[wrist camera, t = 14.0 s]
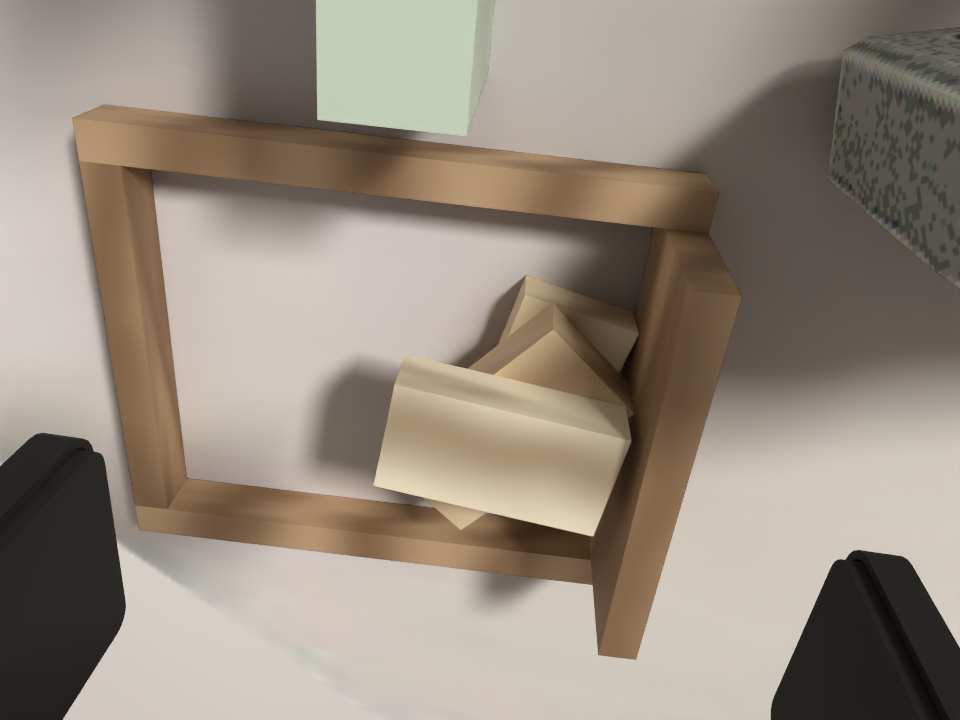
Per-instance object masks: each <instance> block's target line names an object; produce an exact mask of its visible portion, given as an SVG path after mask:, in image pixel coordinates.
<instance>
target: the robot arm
mask: <svg viewBox="0 0 960 720" xmlns="http://www.w3.org/2000/svg"><path fill="white" fill-rule="evenodd" d="M125 604H126V603H125V595H124V588H123V582H122V575H121V568H120V562H119V555H118V548H117V541H116V535H115V528H114V521H113V514H112V508H111V501H110V494H109V487H108V481H107V474H106V467H105V462H104V458H103V456H102V455H101V454H100V453H98V452H94V451H93V448H92V445H91V444H90V442H89V441H88V440H85V439H81V438H74V437H67V436H60V435H54V434H47V433H40V434H36V435H34V436H33V437H31V438H30V439H29V440H28V441H27V442H26V443H25V444H24V445H22V446H21V447H20V448H19V449H18V450H17V451H16V452H15V453H14V454H13V455H12V456H11V457H10V458H9V459H8V460H7V461H5V462H4V463H3V464H2V465H1V466H0V720H63V718H64V716H65V715H66V713H67V712H68V710H69V708H70V707H71V705H72V704H73V702H74V700H75V699H76V698H77V696H78V694H79V693H80V691H81V690H82V688H83V687H84V685H85V683H86V682H87V680H88V679H89V677H90V675H91V674H92V672H93V671H94V669H95V668H96V666H97V665H98V663H99V661H100V660H101V658H102V657H103V655H104V653H105V652H106V650H107V649H108V647H109V646H110V644H111V643H112V641H113V639H114V638H115V636H116V635H117V633H118V631H119V629H120V627H121V625H122V622H123V619H124V615H125V608H126V605H125ZM771 720H960V648H959V646H958V644H957V642H956V641H955V639H954V637H953V635H952V634H951V632H950V630H949V629H948V627H947V625H946V623H945V622H944V620H943V618H942V616H941V615H940V613H939V611H938V609H937V608H936V606H935V604H934V602H933V601H932V599H931V597H930V596H929V594H928V592H927V590H926V589H925V587H924V585H923V583H922V582H921V580H920V578H919V576H918V575H917V573H916V571H915V569H914V568H913V566H912V565H911V563H910V562H909V561H908V560H907V559H906V558H904V557H902V556H896V555H889V554H882V553H875V552H868V551H861V550H856V551H853V552H851V553H850V554H849V555H848V557H847V559H846V560H842V559H840V560H837V561H835V562H834V563H833V565H832V567H831V569H830V571H829V573H828V576H827V578H826V580H825V582H824V585H823V587H822V589H821V591H820V594H819V596H818V598H817V601H816V603H815V605H814V607H813V610H812V612H811V614H810V616H809V619H808V621H807V623H806V626H805V628H804V630H803V632H802V635H801V637H800V639H799V641H798V644H797V646H796V648H795V651H794V653H793V655H792V657H791V660H790V662H789V664H788V666H787V669H786V671H785V673H784V675H783V678H782V680H781V682H780V685H779V687H778V689H777V691H776V694H775V696H774V699H773V702H772V707H771Z"/></svg>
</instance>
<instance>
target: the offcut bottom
mask: <svg viewBox="0 0 960 720" xmlns="http://www.w3.org/2000/svg"><path fill="white" fill-rule="evenodd" d="M552 303H553V304H554V305H555V306H556V307H557V308H558V309H559V310H560V311H561V312H562V313H563V314H564V315H565V316H566V317H567V318H568V320H569V321H570V322H571V323H572V324H573V325H574V326H575V327H576V328H577V329H578V330H579V331H580V332H581V333H582V334H583V335H584V336H585V338H586V339H587V340H588V341H589V342H590V343H591V344H592V345H593V346H594V347H595V348H596V349H597V350H598V351H599V352H600V353H601V355H602V356H603V357H604V358H605V359H606V360H607V361H608V362H609V363H610V364H611V365H612V366H613V367H614V368H615V369H616V370H617V372H618V373H619V372H620V370H621V368H622V366H623V364H624V362H625V360H626V358H627V356H628V354H629V352H630V350H631V348H632V347H633V345H634V343H635V341H636V339H637V337H638V335H639V331H638V327H637V323H636V319H635V315H634V312H631V311H629V310H626V309H623V308H620V307H617V306H614V305H611V304H608V303H605V302H602V301H600V300H597V299H594V298H591V297H588V296H585V295H582V294H579V293H576V292H573V291H571V290H568V289H565V288H562V287H559V286H556V285H553V284H550V283H547V282H545V281H542V280H539V279H536V278H533V277H530V276H527V275H526V276H525V279H524V281H523V283H522V286H521V288H520V291H519V293H518V296H517V298H516V301H515V303H514V306H513V308H512V311H511V313H510V316H509V318H508V320H507V323H506V325H505V328H504V330H503V333H502V335H501V338H500V340H499V343H498V345H499V344H500V343H501V342H503V341H504V340H505V339H506V338H508V337H509V336H510V335H512V334H513V333H514V332H515V331H517V330H518V329H519V328H521V327H522V326H523V325H525V324H526V323H527V322H528V321H530V320H531V319H532V318H534V317H535V316H536V315H537V314H539V313H540V312H541V311H543V310H544V309H545V308H546V307H548V306H549V305H550V304H552Z"/></svg>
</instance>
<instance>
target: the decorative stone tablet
mask: <svg viewBox="0 0 960 720" xmlns="http://www.w3.org/2000/svg"><path fill="white" fill-rule="evenodd" d="M828 180H829V181H831V182H832V183H833V184H834V185H835V186H836V187H838V188H839V189H840V190H841V191H842V192H843V193H844V194H846V195H847V196H848V197H849V198H850V199H851V200H853V201H854V202H855V203H856V204H857V205H858V206H860V207H861V208H862V209H863V210H864V211H865V212H866V213H868V214H869V215H870V216H871V217H872V218H873V219H875V220H876V221H877V222H878V223H879V224H880V225H882V226H883V227H884V228H885V229H886V230H887V231H889V232H890V233H891V234H892V235H893V236H894V237H895V238H897V239H898V240H899V241H900V242H901V243H902V244H904V245H905V246H906V247H907V248H908V249H909V250H911V251H912V252H913V253H914V254H915V255H916V256H917V257H919V258H920V259H921V260H922V261H923V262H924V263H926V264H927V265H928V266H929V267H930V268H931V269H933V270H934V271H935V272H937V273H938V274H940V275H941V276H942V277H944V278H945V279H947V280H948V281H950V282H951V283H953V284H954V285H955V286H957V287H958V288H960V27H958V28H948V29H938V30H928V31H919V32H909V33H899V34H890V35H880V36H870V37H866V38H864V39H863V40H861V41H859V42H858V43H856V44H854V45H853V46H851V47H849V48H848V49H846V50H844V51H843V55H842V64H841V72H840V80H839V88H838V96H837V105H836V113H835V121H834V129H833V138H832V146H831V154H830V162H829V171H828Z"/></svg>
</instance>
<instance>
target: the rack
mask: <svg viewBox="0 0 960 720" xmlns="http://www.w3.org/2000/svg"><path fill="white" fill-rule="evenodd" d="M72 121H73V127H74V133H75V139H76V145H77V152H78V158H79V164H80V170H81V176H82V182H83V188H84V195H85V201H86V207H87V213H88V219H89V225H90V232H91V238H92V244H93V250H94V256H95V262H96V268H97V275H98V281H99V287H100V293H101V299H102V305H103V312H104V318H105V324H106V330H107V336H108V342H109V348H110V355H111V361H112V367H113V373H114V379H115V385H116V392H117V398H118V404H119V410H120V416H121V422H122V428H123V435H124V441H125V447H126V453H127V459H128V465H129V472H130V478H131V484H132V490H133V496H134V502H135V509H136V515H137V521H138V527H139V530H143V531H151V532H159V533H168V534H176V535H184V536H192V537H201V538H209V539H217V540H226V541H234V542H242V543H250V544H259V545H267V546H275V547H284V548H292V549H300V550H308V551H317V552H325V553H333V554H342V555H350V556H358V557H366V558H375V559H383V560H391V561H400V562H408V563H416V564H424V565H433V566H441V567H449V568H458V569H466V570H474V571H482V572H491V573H499V574H507V575H516V576H524V577H532V578H540V579H549V580H557V581H565V582H574V583H582V584H590V585H593V594H594V607H595V619H596V632H597V645H598V655H602V656H610V657H618V658H626V659H635V660H636V658H637V655H638V651H639V648H640V644H641V641H642V637H643V634H644V631H645V627H646V624H647V620H648V617H649V613H650V610H651V607H652V603H653V600H654V596H655V593H656V590H657V586H658V583H659V579H660V576H661V572H662V569H663V566H664V562H665V559H666V555H667V552H668V548H669V545H670V542H671V538H672V535H673V531H674V528H675V525H676V521H677V518H678V514H679V511H680V507H681V504H682V501H683V497H684V494H685V490H686V487H687V483H688V480H689V477H690V473H691V470H692V466H693V463H694V460H695V456H696V453H697V449H698V446H699V442H700V439H701V436H702V432H703V429H704V425H705V422H706V418H707V415H708V412H709V408H710V405H711V401H712V398H713V395H714V391H715V388H716V384H717V381H718V377H719V374H720V371H721V367H722V364H723V360H724V357H725V353H726V350H727V347H728V343H729V340H730V336H731V333H732V330H733V326H734V323H735V319H736V316H737V312H738V309H739V306H740V302H741V299H742V295H741V293H740V291H739V289H738V287H737V286H736V284H735V282H734V280H733V278H732V276H731V274H730V273H729V271H728V269H727V267H726V265H725V263H724V261H723V260H722V258H721V256H720V254H719V252H718V250H717V248H716V247H715V245H714V243H713V241H712V239H711V237H710V235H709V230H710V226H711V222H712V218H713V214H714V211H715V207H716V203H717V199H718V195H719V191H718V190H717V188H716V187H715V185H714V184H713V182H712V181H711V179H710V178H709V176H708V175H707V174H704V173H695V172H686V171H677V170H669V169H660V168H651V167H643V166H634V165H625V164H616V163H608V162H599V161H590V160H582V159H573V158H564V157H555V156H547V155H538V154H529V153H521V152H512V151H503V150H494V149H486V148H477V147H468V146H460V145H451V144H442V143H433V142H425V141H416V140H407V139H398V138H390V137H381V136H372V135H364V134H355V133H346V132H337V131H329V130H320V129H311V128H303V127H294V126H285V125H276V124H268V123H259V122H250V121H242V120H233V119H224V118H215V117H207V116H198V115H189V114H180V113H172V112H163V111H154V110H146V109H137V108H128V107H119V106H111V105H102V106H100V107H97V108H95V109H92V110H90V111H88V112H85V113H83V114H81V115H78V116H76V117H73V118H72ZM151 169H153V170H162V171H170V172H179V173H188V174H196V175H205V176H214V177H222V178H231V179H240V180H248V181H257V182H266V183H274V184H283V185H292V186H300V187H309V188H317V189H326V190H335V191H343V192H352V193H361V194H369V195H378V196H387V197H395V198H404V199H413V200H421V201H430V202H439V203H447V204H456V205H465V206H473V207H482V208H491V209H499V210H508V211H517V212H525V213H534V214H543V215H551V216H560V217H569V218H577V219H586V220H594V221H603V222H612V223H620V224H629V225H638V226H646V227H654V228H653V233H652V237H651V242H650V246H649V251H648V255H647V260H646V265H645V269H644V274H643V278H642V283H641V287H640V292H639V297H638V301H637V306H636V310H635V319H636V323H637V327H638V331H639V335H638V337H637V339H636V341H635V343H634V345H633V347H632V348H631V350H630V352H629V354H628V356H627V358H626V360H625V362H624V365H623V370H622V374H621V376H622V377H623V378H624V379H625V380H626V381H627V382H628V383H629V389H630V394H631V399H632V405H633V410H634V415H632V416H631V417H629V418H628V423H629V429H630V435H631V440H632V441H631V444H630V446H629V449H628V451H627V454H626V456H625V459H624V461H623V464H622V466H621V468H620V471H619V473H618V476H617V478H616V481H615V483H614V486H613V488H612V491H611V493H610V496H609V498H608V501H607V503H606V506H605V508H604V511H603V513H602V516H601V518H600V521H599V523H598V526H597V528H596V531H595V533H594V536H588V535H584V534H580V533H575V532H571V531H567V530H562V529H558V528H554V527H549V526H545V525H541V524H536V523H532V522H528V521H523V520H519V519H515V518H510V517H503V516H495V515H487V514H484V515H483V516H481V517H480V518H478V519H477V520H475V521H474V522H472V523H471V524H469V525H468V526H466V527H465V528H463V529H462V530H460V529H459V528H458V527H457V526H455V525H454V524H453V523H452V522H451V521H450V520H448V519H447V518H446V517H445V516H444V515H443V514H442V513H440V512H439V511H438V510H437V509H436V508H428V507H420V506H411V505H403V504H395V503H386V502H378V501H370V500H361V499H353V498H345V497H336V496H328V495H320V494H311V493H303V492H295V491H286V490H278V489H270V488H261V487H253V486H245V485H236V484H228V483H220V482H211V481H203V480H194V479H187V476H186V467H185V459H184V450H183V442H182V433H181V425H180V416H179V407H178V399H177V390H176V382H175V373H174V365H173V356H172V347H171V339H170V330H169V322H168V313H167V305H166V296H165V287H164V279H163V270H162V262H161V253H160V245H159V236H158V227H157V219H156V210H155V202H154V193H153V185H152V176H151Z"/></svg>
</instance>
